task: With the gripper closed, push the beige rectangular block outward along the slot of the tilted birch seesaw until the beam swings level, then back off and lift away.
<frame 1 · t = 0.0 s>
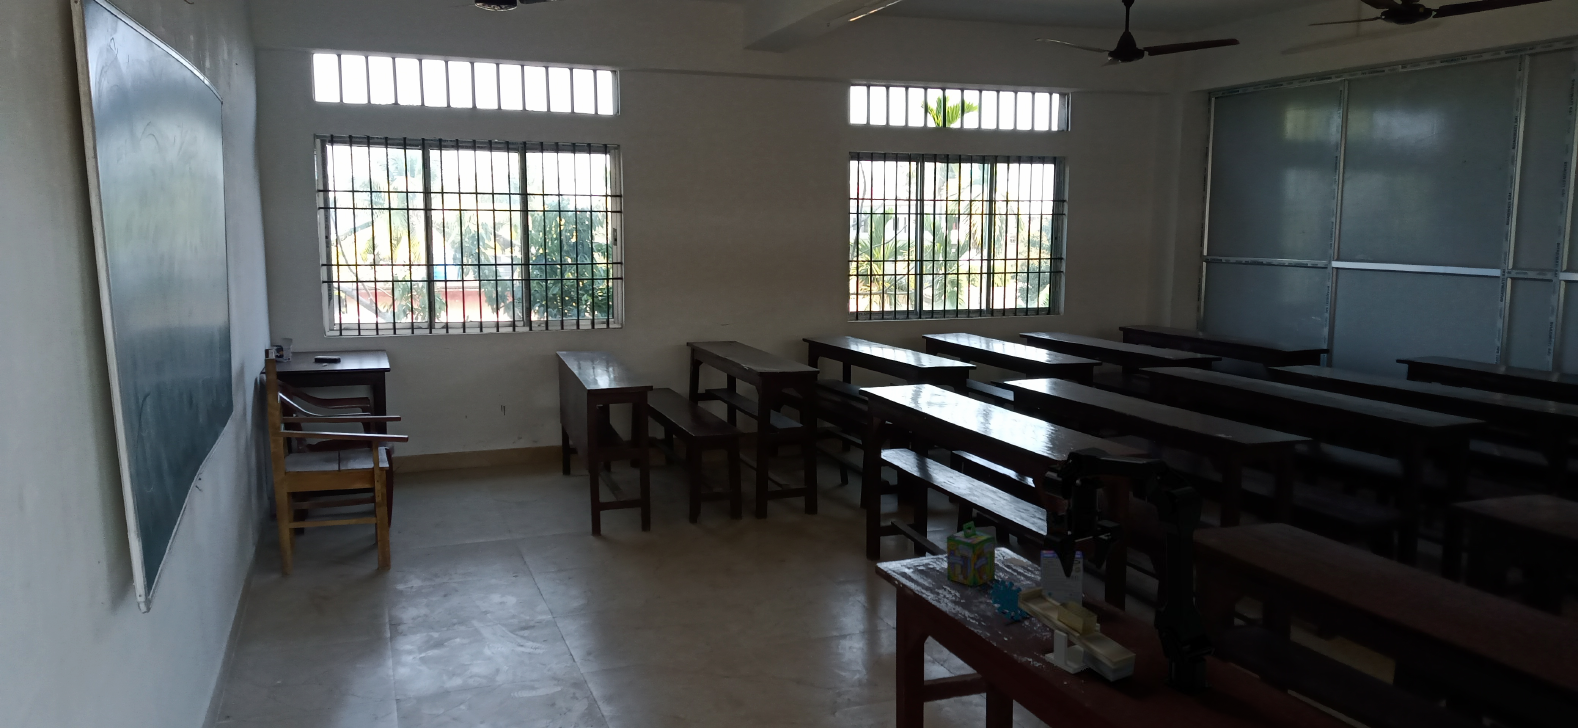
hand: (1083, 572, 227), 15 cm above the table, tool pointing down, fingers open, 9 cm apart
pivot stand: (1076, 660, 217), on the table
seesaw beam: (1073, 631, 217), point 6 cm above the table, hinge at -7.2°, touching beige rectangular block
beige rectangular block: (1075, 626, 216), point 7 cm above the table, tilted 7°, touching seesaw beam
gear: (1011, 615, 242), on the table
chalk box: (971, 579, 265), on the table
ink cartridge box: (1061, 602, 248), on the table
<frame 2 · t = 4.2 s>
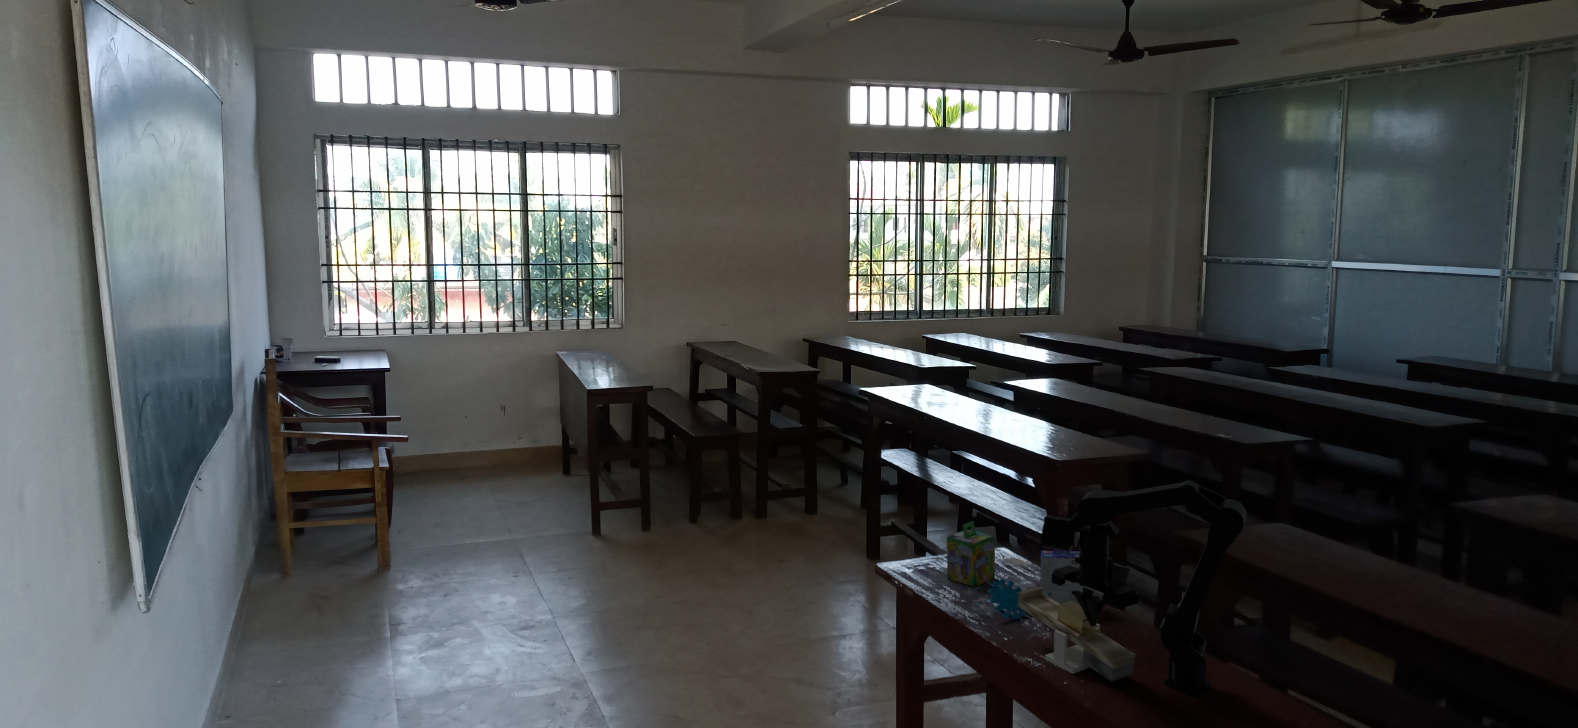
hand: (1093, 625, 212), 9 cm above the table, tool pointing down, fingers closed
beige rectangular block: (1075, 626, 216), point 7 cm above the table, tilted 7°, touching gripper, seesaw beam
everything else where it was.
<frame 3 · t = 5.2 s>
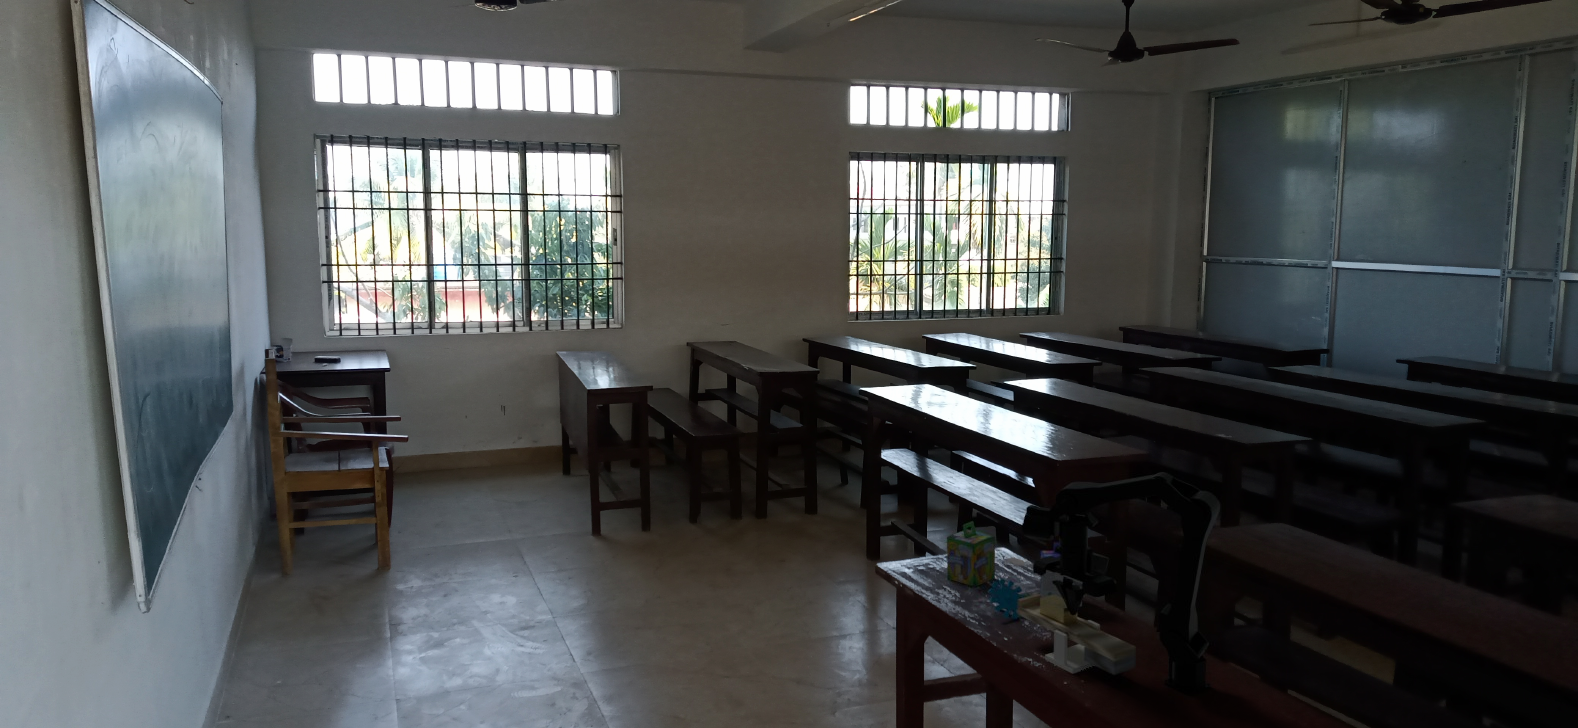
hand: (1073, 614, 216), 10 cm above the table, tool pointing down, fingers closed
seesaw beam: (1073, 631, 217), point 6 cm above the table, hinge at 0.2°
beige rectangular block: (1058, 618, 221), point 7 cm above the table, touching gripper
everything else where it was.
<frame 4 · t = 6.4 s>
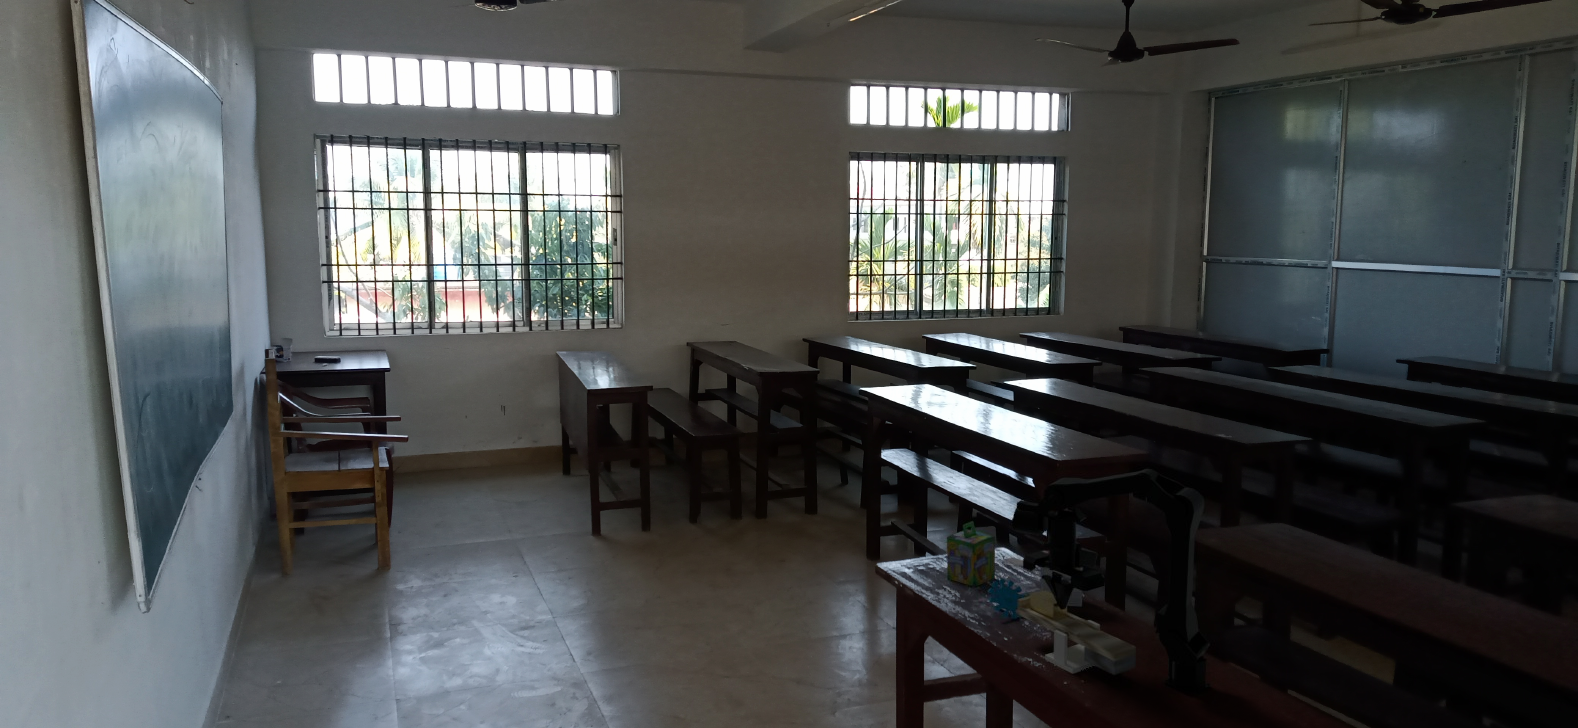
hand: (1062, 608, 219), 10 cm above the table, tool pointing down, fingers closed
seesaw beam: (1073, 631, 217), point 6 cm above the table, hinge at 0.2°, touching beige rectangular block
beige rectangular block: (1048, 614, 223), point 7 cm above the table, touching gripper, seesaw beam
everything else where it was.
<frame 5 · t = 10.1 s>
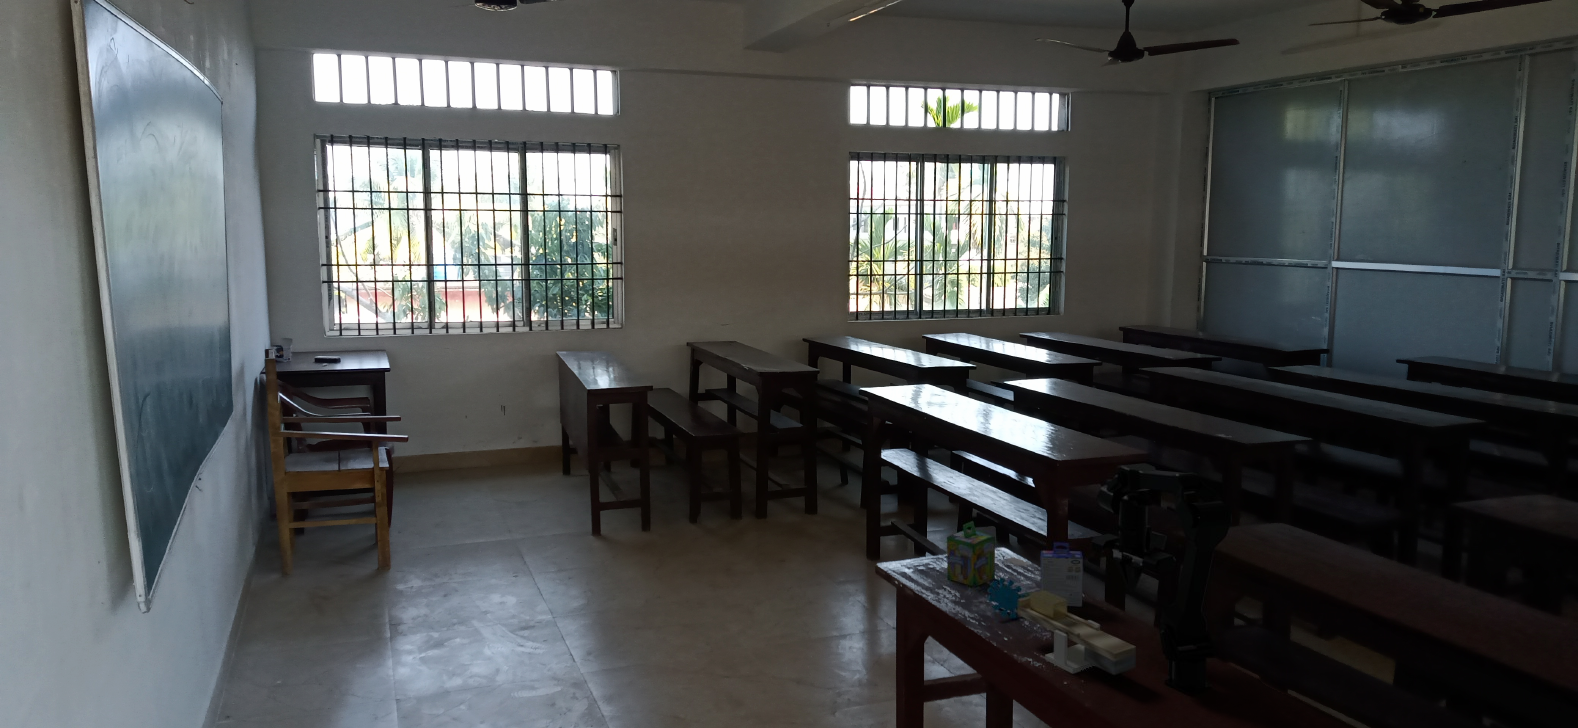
hand: (1131, 590, 223), 12 cm above the table, tool pointing down, fingers closed
beige rectangular block: (1048, 614, 223), point 7 cm above the table, touching seesaw beam
at the end: seesaw beam at +0° (first picture: -7°); beige rectangular block 0.1 cm from the target spot on the seesaw beam, point 0.7 cm above the seesaw beam's base; the gripper is holding nothing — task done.
